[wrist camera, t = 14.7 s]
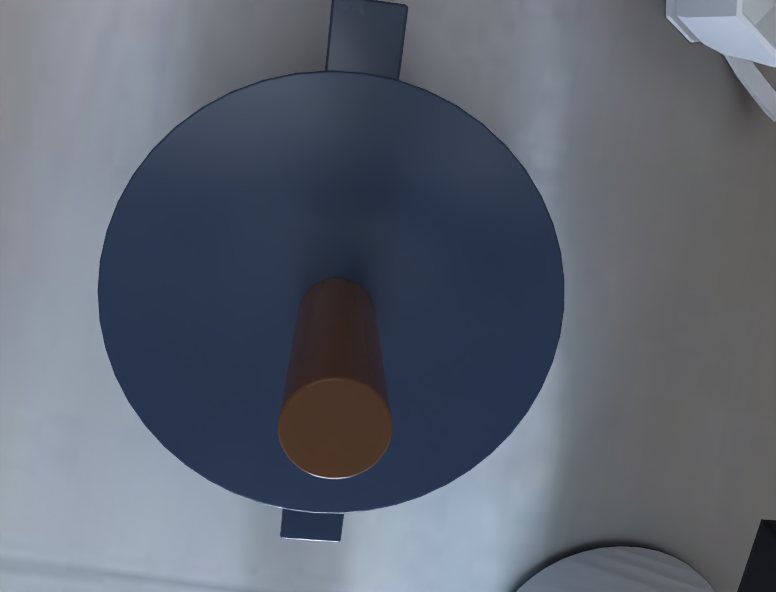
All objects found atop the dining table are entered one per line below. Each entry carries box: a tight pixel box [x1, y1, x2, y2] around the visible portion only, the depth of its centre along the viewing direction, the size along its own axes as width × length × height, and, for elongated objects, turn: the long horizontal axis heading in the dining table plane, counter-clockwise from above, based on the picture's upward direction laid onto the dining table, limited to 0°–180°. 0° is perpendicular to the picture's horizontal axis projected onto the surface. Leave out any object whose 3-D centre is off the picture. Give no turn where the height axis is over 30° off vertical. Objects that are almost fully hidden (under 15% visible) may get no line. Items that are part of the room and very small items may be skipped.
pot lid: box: [98, 71, 564, 513], centre depth 20 cm, size 16×16×9 cm
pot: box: [280, 0, 408, 542], centre depth 28 cm, size 15×20×10 cm
